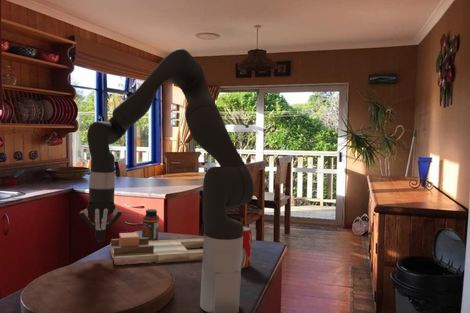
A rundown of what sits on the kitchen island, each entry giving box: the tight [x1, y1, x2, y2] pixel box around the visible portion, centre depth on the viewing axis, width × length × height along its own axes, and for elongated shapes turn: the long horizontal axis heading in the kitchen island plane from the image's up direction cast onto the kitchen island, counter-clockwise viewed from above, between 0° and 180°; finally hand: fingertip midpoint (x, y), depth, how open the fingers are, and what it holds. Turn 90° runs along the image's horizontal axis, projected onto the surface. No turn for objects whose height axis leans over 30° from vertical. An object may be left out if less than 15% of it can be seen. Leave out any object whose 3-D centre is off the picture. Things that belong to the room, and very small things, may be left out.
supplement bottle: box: [141, 208, 160, 241], centre depth 146 cm, size 6×6×11 cm
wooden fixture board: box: [109, 237, 204, 264], centre depth 131 cm, size 16×35×4 cm, turn 112°
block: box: [118, 232, 140, 247], centre depth 126 cm, size 6×6×4 cm
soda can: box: [241, 225, 253, 269], centre depth 123 cm, size 7×7×12 cm
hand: (99, 241), depth 123 cm, fingers closed
